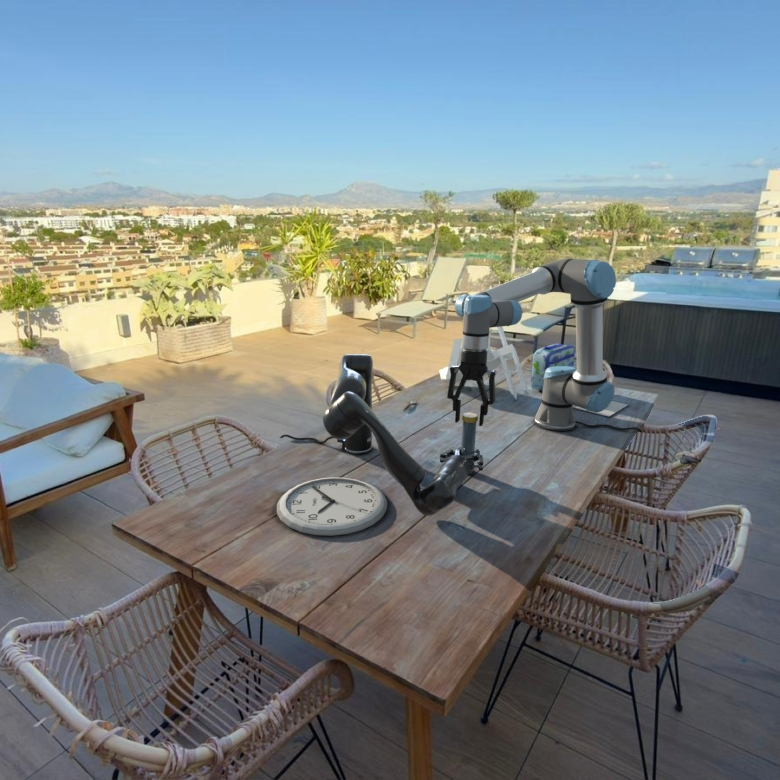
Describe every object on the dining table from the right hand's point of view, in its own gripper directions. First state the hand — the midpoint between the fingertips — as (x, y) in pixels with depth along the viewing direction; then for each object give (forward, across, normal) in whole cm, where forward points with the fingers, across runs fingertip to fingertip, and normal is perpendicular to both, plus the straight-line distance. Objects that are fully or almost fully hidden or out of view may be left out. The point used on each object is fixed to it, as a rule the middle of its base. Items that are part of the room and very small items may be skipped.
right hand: (469, 422), depth 159 cm
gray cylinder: (+16, 0, 0) cm, 16 cm away
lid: (-2, 0, 0) cm, 2 cm away
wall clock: (+17, +29, +35) cm, 48 cm away
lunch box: (+16, -16, -105) cm, 107 cm away
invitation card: (+16, -39, -85) cm, 95 cm away
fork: (+16, +37, -52) cm, 66 cm away
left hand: (+10, 0, -3) cm, 11 cm away
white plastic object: (+16, +14, -84) cm, 86 cm away
